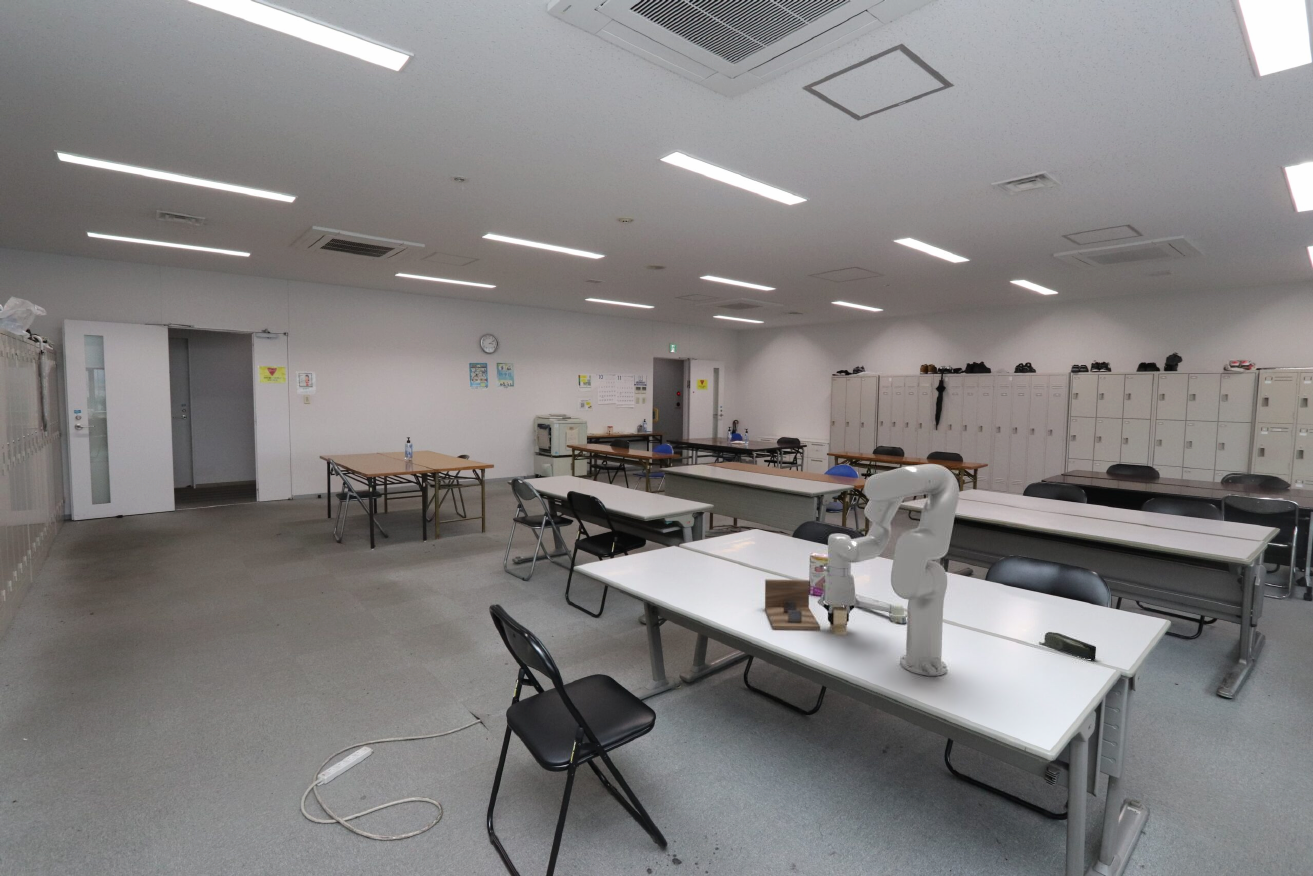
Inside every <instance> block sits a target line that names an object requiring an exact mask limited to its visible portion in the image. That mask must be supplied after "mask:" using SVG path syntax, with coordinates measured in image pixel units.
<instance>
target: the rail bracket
mask: <svg viewBox="0 0 1313 876" xmlns="http://www.w3.org/2000/svg"><path fill="white" fill-rule="evenodd" d="M832 611H833V614H834V616H833V625H831V624H830V623H829V628H830V630H831V632H832V633H833V634H834V635H847V629H848V628H847V627H848V622H847V611H846V609H845V608H844V606H833V610H832Z"/></svg>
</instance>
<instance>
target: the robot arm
mask: <svg viewBox="0 0 1313 876" xmlns="http://www.w3.org/2000/svg"><path fill="white" fill-rule="evenodd" d="M863 490H864V494H865V496H866V498H867V499H868V500H869V501H868V502H867V504H866V506H865V508H864V509H863V511H864V513H863V514H864V515H865V517H866V519H868V520H869V521H871V523H872V524H871V527H870V529H869V530H868V532H867V534H865V535H866V536H860V537H856V538H851V536H850V535H848V534H845V533H838V532H837V533H831V534H829V536H828V537H827V555H828V564H827V567H823V570H824V571H826V572H828V573H826V575H825V579H824V585H823V594H822V596H819V598H818V600H817V605H819V606H821V607H822V608H823V609H825V610H826V611H827V622H829V625H830V624H831V625H833V616H834V614H833V611H832V610H833V606H843V607H844V608H845V609H846V611H847V623H848V622H849V621H850V613H851V612H852V611H853V610H854V609H855V608H856V607H858V605H859V604H860V603H859V601H858V600H857V598H856V597H855V594H856V585H855V579H854V578H855V577H854V575H853V574H852V564H856V563H861V562H864V561H869V560H874V559H876V558H877V557H879V556H880V555H881V554H882V553H883V551H884V550H885V548H886V546H887V545H888V543H889V542H890V539H891V535H892V525H891V522H892V520H893V518H894V517H895V515H896V513H897V511H898V510H899V508H900V506H901V505H902V503H903V502H904V501H903V500H904V499H905V498H909V497H914V496H922V495H928V497H927V499H926V502H924V505H923V507H922V509H921V515H920V520H919V524H918V526H917V527H916V528H912V529H909V530H906V531H904V532H903V533H902V534H901V535H900V536H899V538H898V539H897V542H896V545H895V549H894V556H893V562H892V567H891V573H890V584H891V588H892V589H893V592H894V593H895V594H896V595H897V596H898V597H899V598H901V599H904V600H907V608H906V609H907V612H906V614H907V617H906V639H905V640H906V642H905V645H906V646H905V647H906V648H905V650H906V651H905V654H903V655H902V656H901V657H900V658H899V659H900V661H899V664H900V665H901V667H903V668H904V669H905V670H907V671H909V672H911V673H913V674H916V675H920V676H928V677H938V676H943V675H944V674H946V673H947V671H948V665H947V664H946V663H945V662H944V661H943V660H942V654H943V651H942V649H943V623H944V618H943V617H944V606H945V605H944V604H945V596H946V593H947V592H946V591H947V588H948V574H947V572H946V570H945V568H944V567H943V566H942V564H940V563H939V562H936V561H935V560H939V559H941V558H943V557H945V556H946V555H947V554H948V551H949V548H950V544H951V543H950V542H951V537H952V532H953V528H954V522H955V515H956V511H957V507H958V503H959V499H960V487H959V482H958V480H957V478H956V476H955V475H954V473H952V471H950V470H949V469H948V468H947V467H945V466H943V465H940V464H935V463H924V464H917V465H916V464H915V465H909V466H908V465H907V466H903V467H898V468H894V469H891V470H888V471H883V472H879V473H875V474H872V475H871V476H869V477H868V478H867V479H866V481H865V484H864V487H863Z"/></svg>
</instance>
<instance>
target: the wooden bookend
mask: <svg viewBox="0 0 1313 876" xmlns="http://www.w3.org/2000/svg"><path fill="white" fill-rule="evenodd" d="M764 584H765V585H764V611H765V613H766V616H767V618H768V622H769V623H770V625H771V628H772V630H773V631H814V630H820V631H821V625H820V623H819V622H818V620H817V619H816V617H815V616H814V613H813V612H812V611H811V609H810V594H809V579H769V578H768V579H765V580H764Z"/></svg>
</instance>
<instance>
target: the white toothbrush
mask: <svg viewBox="0 0 1313 876" xmlns="http://www.w3.org/2000/svg"><path fill="white" fill-rule="evenodd" d="M855 597H856V598H857V600H858V601H859V603H860V604H859V605H858V606H857V607H858V608H859V607H860V608H865V609H869V610H875V611H879V612H883V613H888V616H889V618H890V621H891V622H892V623H894V624H897V623H899V624H905V623H906V624H907V612H905V609H904V606H903V605H902V604H899V603H887V602H884V601H880V600H876V599H872V598H870V597H869V598H868V597H865V596H861V595H858V594H856V593H855Z"/></svg>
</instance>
